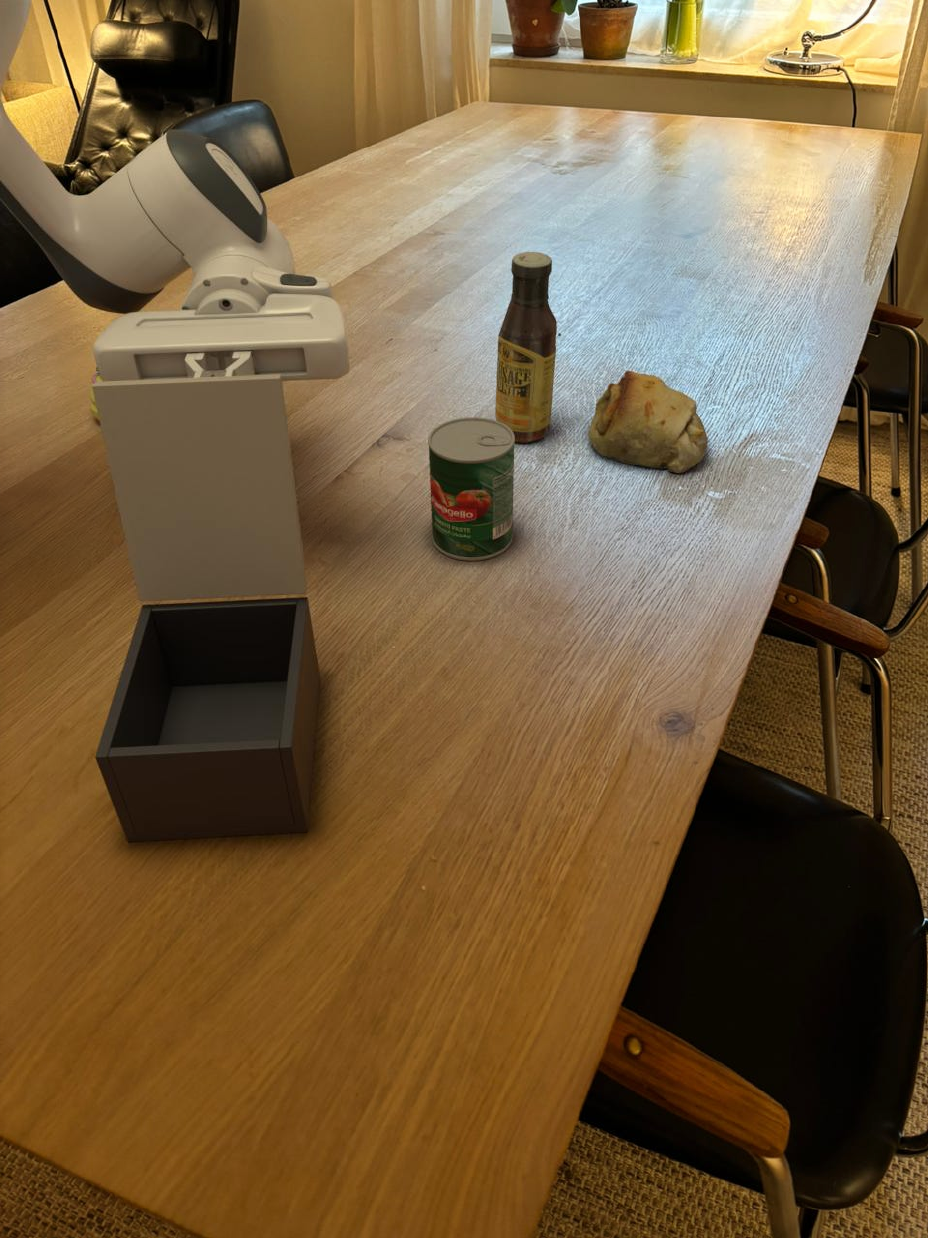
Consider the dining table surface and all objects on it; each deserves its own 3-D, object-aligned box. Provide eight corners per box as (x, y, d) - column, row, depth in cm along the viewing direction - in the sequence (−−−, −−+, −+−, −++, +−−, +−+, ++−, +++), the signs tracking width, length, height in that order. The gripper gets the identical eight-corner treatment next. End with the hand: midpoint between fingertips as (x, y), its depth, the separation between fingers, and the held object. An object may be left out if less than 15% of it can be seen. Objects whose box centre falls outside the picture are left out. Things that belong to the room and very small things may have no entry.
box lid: (279, 377, 67) (281, 373, 68) (91, 385, 67) (95, 381, 67) (306, 593, 75) (307, 587, 76) (139, 602, 75) (142, 595, 76)
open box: (307, 832, 70) (291, 747, 64) (127, 842, 69) (94, 757, 64) (320, 679, 82) (307, 596, 76) (166, 687, 81) (142, 604, 76)
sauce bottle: (484, 430, 113) (483, 255, 100) (524, 412, 116) (528, 240, 103) (523, 452, 109) (527, 273, 96) (564, 433, 112) (573, 257, 99)
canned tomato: (426, 558, 94) (420, 457, 87) (438, 512, 100) (434, 414, 93) (509, 564, 93) (510, 462, 86) (517, 517, 99) (518, 418, 92)
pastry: (565, 427, 113) (569, 361, 108) (662, 406, 116) (670, 341, 111) (624, 489, 103) (631, 420, 98) (728, 464, 106) (740, 396, 101)
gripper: (105, 286, 84) (63, 358, 73) (348, 277, 84) (341, 347, 74) (123, 356, 88) (86, 434, 77) (354, 347, 88) (349, 423, 78)
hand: (213, 391), depth 75 cm, fingers closed
